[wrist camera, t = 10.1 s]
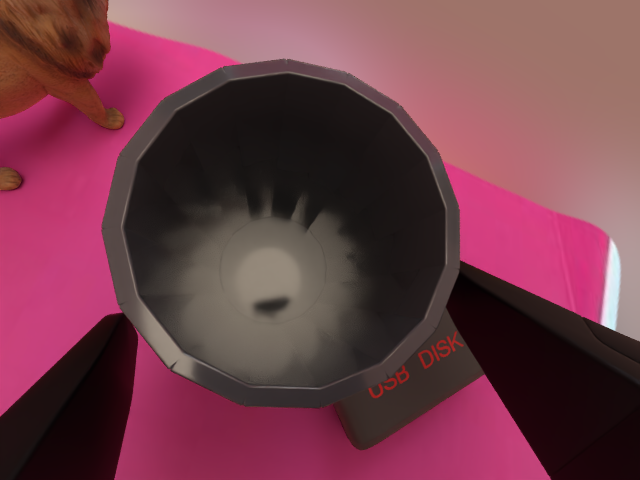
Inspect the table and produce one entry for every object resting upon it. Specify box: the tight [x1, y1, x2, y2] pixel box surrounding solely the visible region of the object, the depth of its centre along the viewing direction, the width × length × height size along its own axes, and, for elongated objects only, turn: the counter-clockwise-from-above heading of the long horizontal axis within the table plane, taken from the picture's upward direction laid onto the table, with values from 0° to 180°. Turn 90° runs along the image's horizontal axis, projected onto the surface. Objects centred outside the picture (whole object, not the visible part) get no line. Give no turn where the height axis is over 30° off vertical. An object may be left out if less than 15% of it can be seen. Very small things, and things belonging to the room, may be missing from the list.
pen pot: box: [102, 59, 460, 408], centre depth 12 cm, size 7×7×12 cm
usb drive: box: [333, 307, 485, 450], centre depth 17 cm, size 5×12×3 cm, turn 115°
